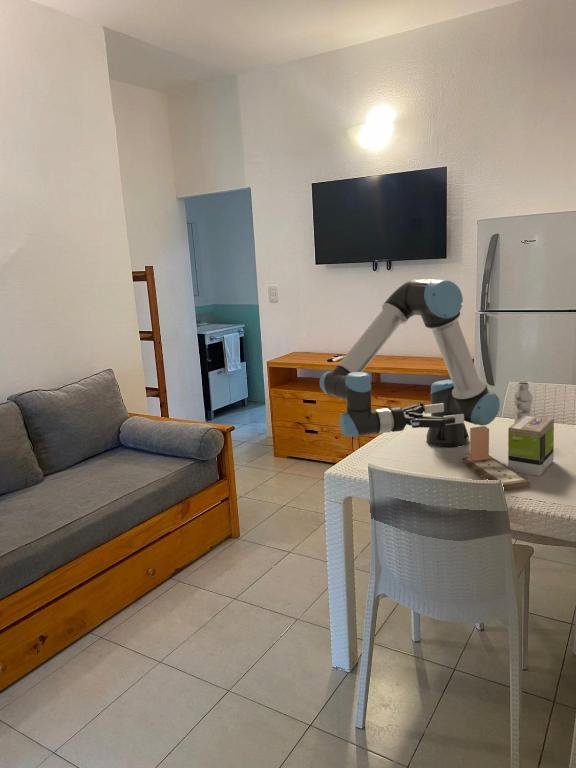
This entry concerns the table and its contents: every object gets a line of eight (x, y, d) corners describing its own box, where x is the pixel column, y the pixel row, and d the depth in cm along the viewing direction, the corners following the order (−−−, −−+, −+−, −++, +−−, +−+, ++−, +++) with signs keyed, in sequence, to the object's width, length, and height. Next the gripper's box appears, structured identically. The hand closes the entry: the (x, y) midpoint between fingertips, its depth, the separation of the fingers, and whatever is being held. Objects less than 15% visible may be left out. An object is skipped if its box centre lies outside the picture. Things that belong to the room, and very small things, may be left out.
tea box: (522, 456, 195) (523, 414, 191) (554, 461, 188) (555, 418, 185) (507, 470, 183) (507, 426, 180) (540, 477, 177) (541, 431, 174)
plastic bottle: (535, 435, 214) (537, 383, 210) (524, 439, 210) (525, 386, 206) (520, 431, 219) (521, 380, 215) (509, 435, 216) (510, 383, 211)
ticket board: (462, 463, 192) (462, 456, 191) (487, 460, 193) (487, 453, 193) (501, 491, 169) (501, 483, 168) (529, 487, 170) (529, 479, 170)
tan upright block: (467, 456, 191) (467, 427, 189) (483, 453, 192) (484, 425, 190) (474, 461, 186) (474, 431, 184) (491, 458, 187) (492, 429, 185)
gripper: (376, 420, 192) (435, 414, 195) (405, 443, 168) (472, 435, 171) (375, 399, 190) (435, 392, 194) (404, 419, 166) (472, 411, 170)
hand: (453, 412), depth 183 cm, fingers open, 13 cm apart
